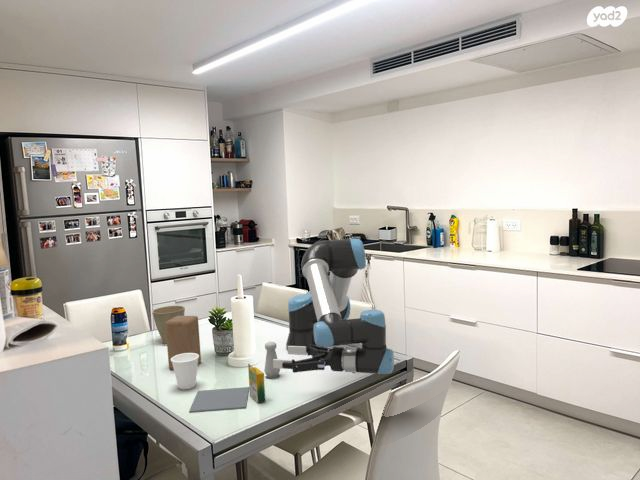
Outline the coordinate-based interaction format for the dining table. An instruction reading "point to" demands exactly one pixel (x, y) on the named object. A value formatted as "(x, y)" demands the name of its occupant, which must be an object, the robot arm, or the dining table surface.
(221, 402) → the mat
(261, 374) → the crayon box
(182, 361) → the cup
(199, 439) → the dining table surface
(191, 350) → the wooden block
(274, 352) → the salt shaker
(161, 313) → the plant pot
